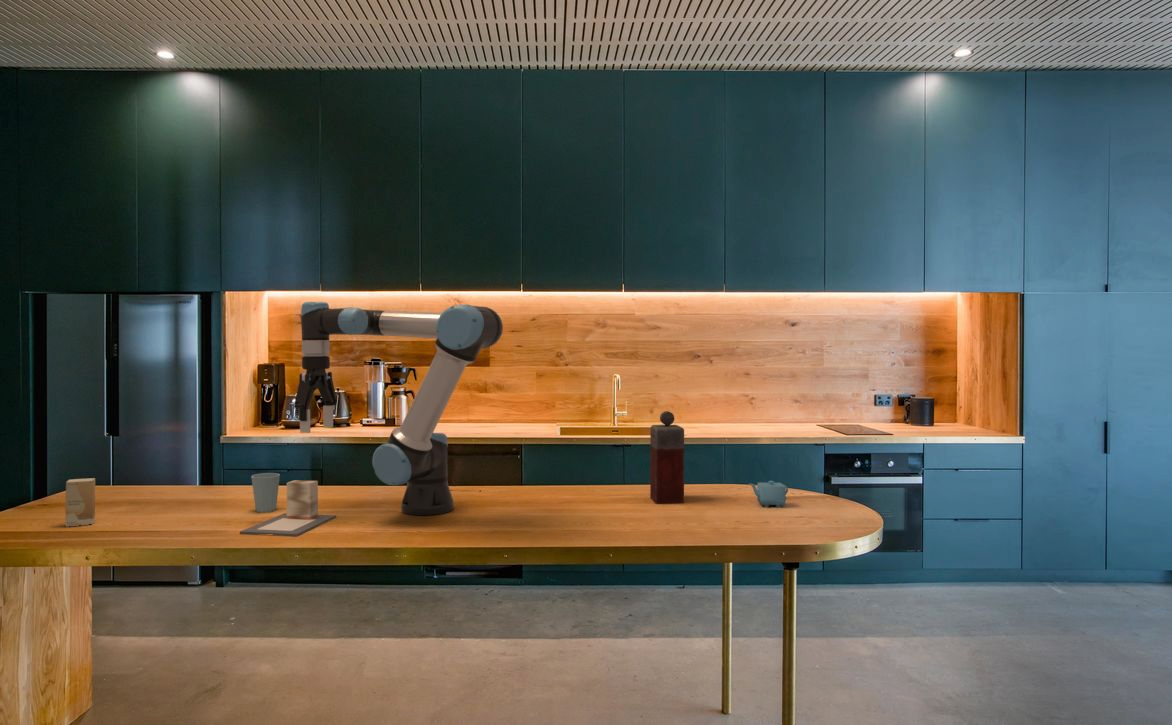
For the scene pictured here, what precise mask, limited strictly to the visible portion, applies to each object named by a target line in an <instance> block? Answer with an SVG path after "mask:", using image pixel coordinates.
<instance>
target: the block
mask: <svg viewBox="0 0 1172 725" xmlns="http://www.w3.org/2000/svg"><path fill="white" fill-rule="evenodd" d="M318 483H319V480H299V479H297V480H296V479H295V480H291V481H288V482H286V513H287V519H304V520H311V519H313V518H316V517H318V515H319V507H318V506H319V494H318V493H319V490H318V489H319V488H318V486H319V484H318Z"/></svg>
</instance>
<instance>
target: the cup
mask: <svg viewBox="0 0 1172 725" xmlns="http://www.w3.org/2000/svg"><path fill="white" fill-rule="evenodd" d="M280 477H281V474H280V473H276V472H265V473H264V472H263V473H262V472H261V473H257V474H256V473H255V474H253V475H251V483H252V484H251V486H252V491H253V499H254V507H255V511H256V512H257V513H270V511H271V512H274V511H276V510H277V504H278V497H279V496H278V495H279V494H278V493H279V485H280V479H281V478H280Z"/></svg>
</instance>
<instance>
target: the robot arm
mask: <svg viewBox="0 0 1172 725" xmlns="http://www.w3.org/2000/svg"><path fill="white" fill-rule="evenodd" d="M329 306H330V305H329V303H328V302H327V301H305V302H303V303H302V304H301V308H300V309H301V310H300V322H301V323H300V324H301V326H300V327H301V346H300V347H301V354H302V355H303V356H302V357H301V369H303V370H306V372H305V373H299V378H298V379H299V380H298V381H299V382H298V386H297V392H296V395H295V396H296V397H295V400H294V405H293V407H294V409H295V410H296V411H297V410H298V411H299V432H300V434H309V433H311V409H309V407H310V404H311V401H312V399H313V396H314V393H315V391H316V390H318V393H319V394H320V397H321V399H322V400H323V403H324V405H323V406H322V409H323V410H322V412H323V413H322V417H323V418H322V419H323V421H322V422H323V428H331V429H333V428H334V406H336V405H337V402H338V398H337V393H336V389H335V385H334V381H333V373H332V371H327V370H329V369H330V367H331V365H330V364H331V362H330V361H331V360H330V358H331V357H330V356H329V355H330V353H331V352H330V349H331V348H330V336H332V335H337V336H338V335H341V336H342V335H343V336H344V335H348V336H351V335H353V336H355V335H357V336H358V335H359V336H360V335H361V336H379V337H380V336H381V337H384V336H386V337H405V338H421V339H424V338H425V339H436V340H435V342H434V345H435V348H436V353H435V355H434V357H433V359H432V361H431V363H430V366H429V367H428V370H427V372H426V374H425V376H424V378H423V380H422V382H421V383H420V386H419V389H418V390H417V393H415V394H416V395H415V397H414V398H413V401H412V403H411V405H410V407H409V409H408V411H407V413H406V415H405V417H404V420H403V421H402V423H401V425H400V426H398V427H394V428H393V430H392V431H391V433H390V434H389V437H388V439H387V442H386V443H383V444H381V445H379V446H378V447H377V448H376V449H375V451H374V452H373V456H372V460H371V462H372V467H373V470H374V474H375V475H376V477H377V478H378V479H379V480H380V481H381V482H382V483H384V484H386V485H389V486H400V485H406V484H407V485H406V488H405V491H404V495H403V497H402V500H401V505H400V506H401V510H400V511H401V512H402V513H403V514H406V515H410V516H411V515H412V516H432V515H433V516H434V515H441V514H446V513H449V512H451V511H453V510H454V507H455V506H454V504H455V503H454V502H455V501H454V498H453V495H452V492H451V488H450V486H449V483H448V470H449V469H448V467H449V466H448V458H449V454H448V448H449V444H448V436H447V435H446V434H445V433H443V432H435V429H436V427H437V426H438V423H439V421H440V419H441V417H442V415H443V413H444V411H445V410H446V407H447V405H448V403H449V401H450V399H451V397H452V395H453V393H454V391H455V389H456V387H457V385H458V383H459V380H460V379H461V377H462V375H463V373H464V371H465V369H466V367H467V365H469V364H472V363H474V362H475V361H476V359H477V357H478V355H479V353H480V351H481V349H487V348H490V347H493V346H494V345H495V344H496V343H497V342H498V341H499V340H500V339H501V337H502V335H503V330H504V329H503V328H504V326H503V320H502V319H501V317H500V315H499V314H498V313H497V312H496V311H495V310H493V309H492V308H490V307H487V306H478V305H471V304H468V303H467V304H466V303H461V304H460V303H459V304H456V305H455V304H454V305H451V306H449V307H447V308H446V309H445V310H443V312H433V311H432V312H430V311H405V310H403V311H400V310H380V309H362V308H359V307H342V308H341V307H340V308H330V307H329Z"/></svg>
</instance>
